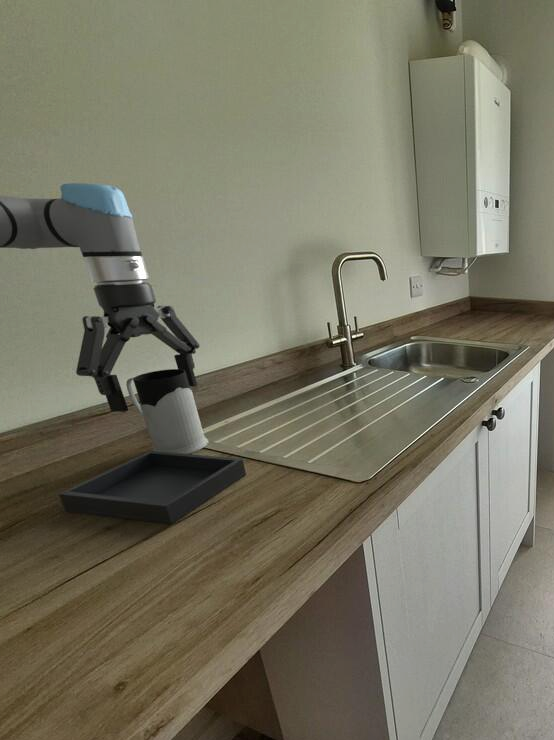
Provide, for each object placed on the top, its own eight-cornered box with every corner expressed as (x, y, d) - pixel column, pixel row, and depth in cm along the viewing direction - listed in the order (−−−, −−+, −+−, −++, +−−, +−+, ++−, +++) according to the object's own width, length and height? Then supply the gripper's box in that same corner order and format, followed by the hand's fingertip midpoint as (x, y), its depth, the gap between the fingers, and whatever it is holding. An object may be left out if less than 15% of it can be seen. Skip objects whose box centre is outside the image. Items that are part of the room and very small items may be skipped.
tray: (65, 511, 61) (58, 493, 60) (155, 465, 73) (150, 450, 72) (171, 524, 58) (165, 506, 57) (246, 474, 70) (242, 458, 69)
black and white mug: (174, 461, 75) (150, 384, 70) (121, 451, 79) (95, 377, 74) (219, 440, 83) (200, 370, 78) (168, 432, 87) (148, 364, 82)
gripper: (51, 290, 59) (101, 425, 65) (203, 277, 82) (228, 378, 89) (10, 290, 60) (63, 422, 67) (171, 277, 83) (198, 376, 90)
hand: (157, 397), depth 78 cm, fingers open, 13 cm apart
